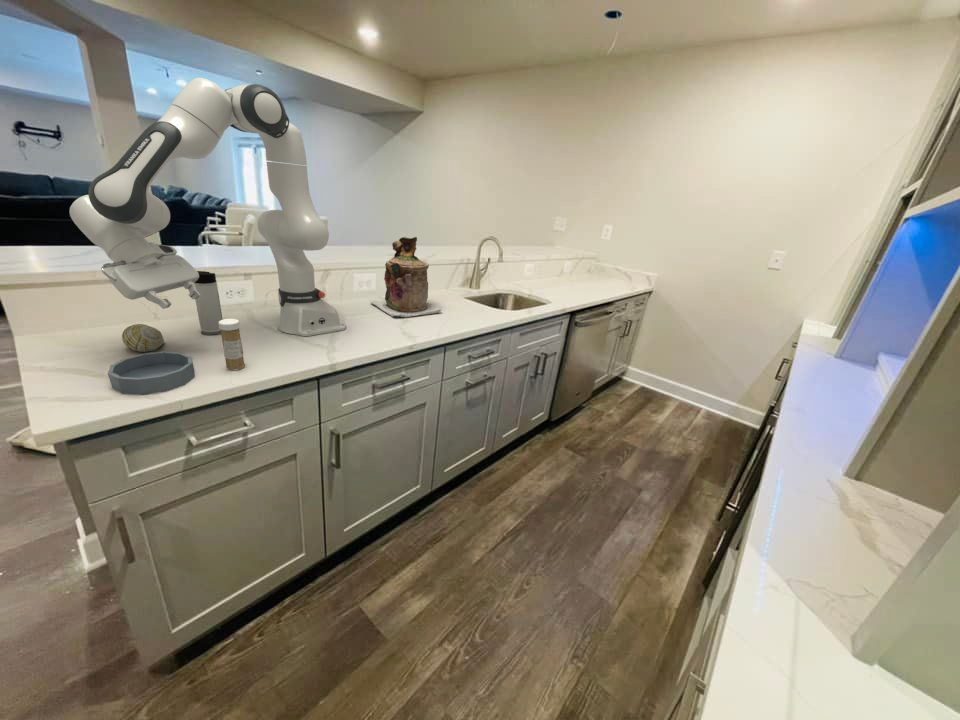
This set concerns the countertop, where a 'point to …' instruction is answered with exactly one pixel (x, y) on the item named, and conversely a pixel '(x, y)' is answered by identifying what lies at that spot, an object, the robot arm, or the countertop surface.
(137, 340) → the seashell
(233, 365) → the sprinkles bottle
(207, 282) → the travel mug
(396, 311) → the cookie jar
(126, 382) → the slate bowl
